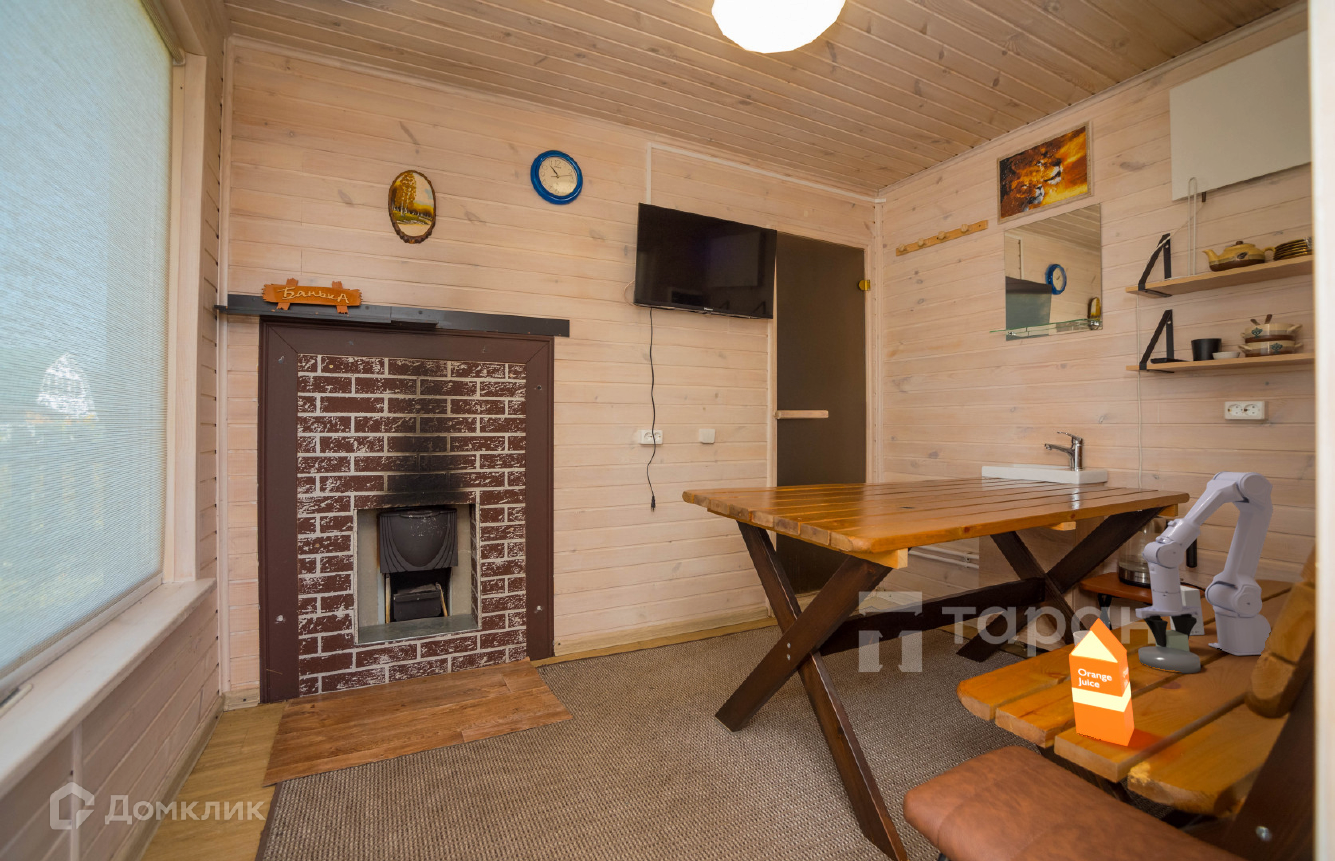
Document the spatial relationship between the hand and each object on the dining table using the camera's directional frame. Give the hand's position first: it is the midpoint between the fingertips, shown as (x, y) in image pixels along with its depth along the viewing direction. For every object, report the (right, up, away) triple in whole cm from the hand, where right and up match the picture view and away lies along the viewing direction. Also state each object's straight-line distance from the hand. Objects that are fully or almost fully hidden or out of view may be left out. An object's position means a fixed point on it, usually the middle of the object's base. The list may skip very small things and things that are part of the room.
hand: (1172, 645), depth 145 cm
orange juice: (-44, -3, -36) cm, 57 cm away
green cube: (0, -1, 0) cm, 1 cm away
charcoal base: (-8, -2, -8) cm, 11 cm away
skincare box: (+15, -1, +13) cm, 20 cm away
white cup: (-29, -3, -14) cm, 32 cm away
